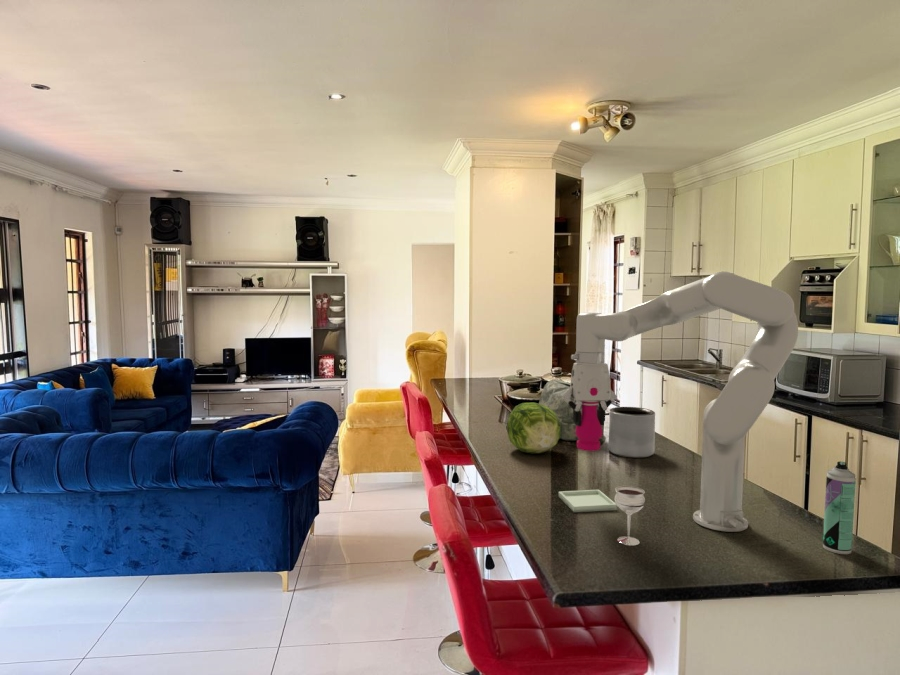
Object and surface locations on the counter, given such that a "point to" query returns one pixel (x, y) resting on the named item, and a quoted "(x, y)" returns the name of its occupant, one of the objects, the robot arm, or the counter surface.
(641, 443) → the planter
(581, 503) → the tray
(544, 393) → the lunch bag
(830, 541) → the spray can
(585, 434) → the pepper mill
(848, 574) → the counter surface
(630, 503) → the wineglass
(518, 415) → the lettuce
